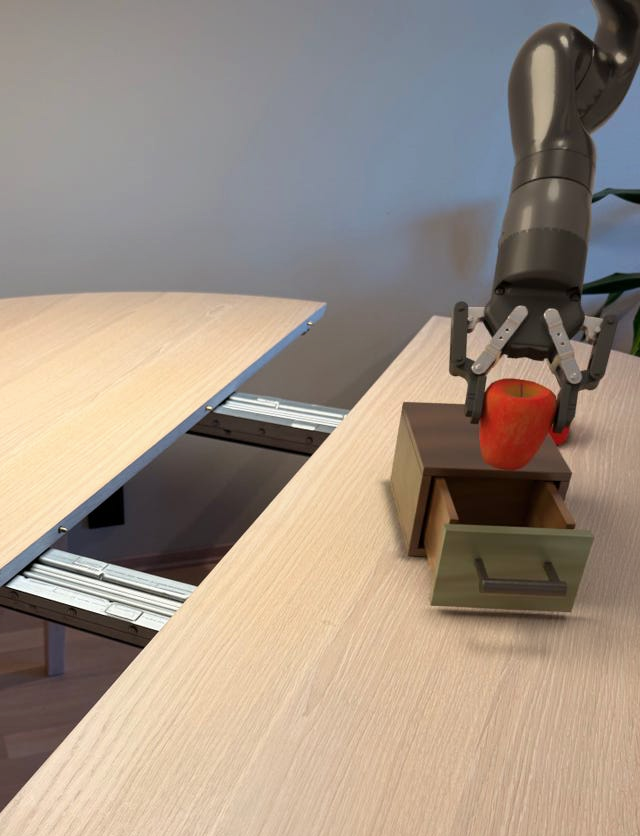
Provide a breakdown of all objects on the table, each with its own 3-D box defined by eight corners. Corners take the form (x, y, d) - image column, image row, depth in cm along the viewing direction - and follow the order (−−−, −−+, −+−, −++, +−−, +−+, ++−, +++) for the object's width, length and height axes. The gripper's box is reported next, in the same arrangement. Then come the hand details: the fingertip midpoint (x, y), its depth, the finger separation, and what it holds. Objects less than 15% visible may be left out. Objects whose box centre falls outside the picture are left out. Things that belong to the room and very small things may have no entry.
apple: (547, 456, 90) (567, 378, 86) (533, 484, 86) (555, 403, 81) (478, 442, 92) (494, 365, 88) (461, 468, 88) (478, 389, 84)
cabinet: (547, 562, 98) (572, 473, 92) (407, 555, 98) (423, 467, 93) (513, 488, 110) (533, 406, 105) (389, 483, 111) (402, 401, 105)
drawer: (585, 643, 85) (611, 565, 80) (438, 636, 86) (455, 558, 81) (533, 532, 101) (552, 461, 96) (409, 526, 101) (422, 456, 97)
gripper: (464, 218, 85) (436, 399, 83) (641, 230, 82) (616, 418, 80) (454, 264, 92) (428, 432, 90) (616, 277, 89) (593, 450, 87)
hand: (516, 425), depth 85 cm, fingers closed on apple, 6 cm apart
